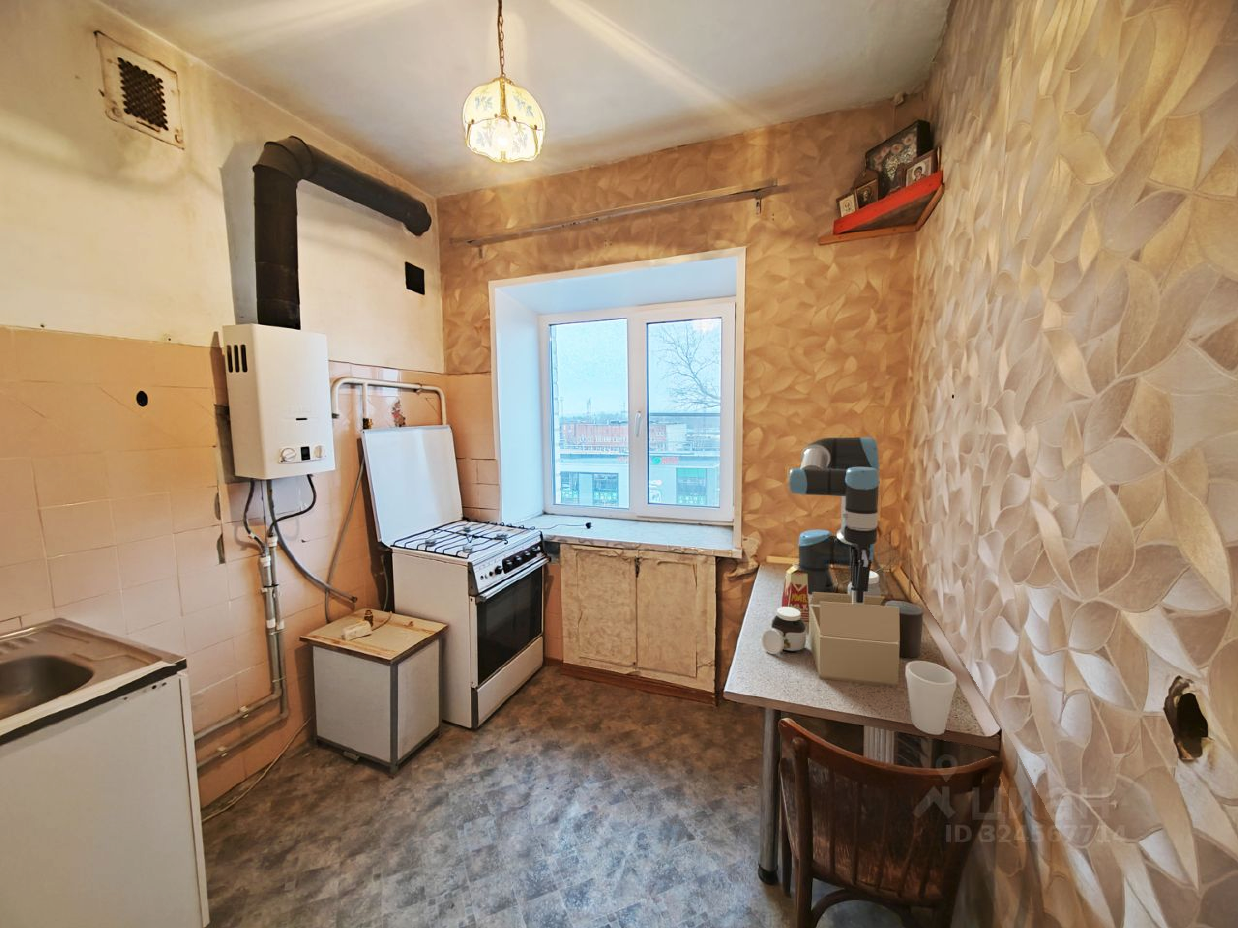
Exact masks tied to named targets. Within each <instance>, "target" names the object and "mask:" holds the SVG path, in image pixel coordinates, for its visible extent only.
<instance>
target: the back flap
mask: <svg viewBox="0 0 1238 928" xmlns="http://www.w3.org/2000/svg"><path fill="white" fill-rule="evenodd" d="M884 599H885V596H884V595H883V596H882V595H881V596H869V595H865V602H864V605H876V606H881V605H880V604H882V603H883V601H884ZM820 601H821V602H835V603H849V604H852V594H848V593H835V592H831V593H824V592H813V593H811V597H810V599H809V605H812V606H820Z"/></svg>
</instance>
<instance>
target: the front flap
mask: <svg viewBox="0 0 1238 928" xmlns="http://www.w3.org/2000/svg"><path fill="white" fill-rule="evenodd" d="M819 606H820V635H825V636H836V637H847V638H858V639H869V640H880V641H891V642H900V624H899V607H890V606H885V605H880V606H876V605H858V604H849V603H835V602H821V601H820V605H819Z"/></svg>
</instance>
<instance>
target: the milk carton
mask: <svg viewBox="0 0 1238 928" xmlns="http://www.w3.org/2000/svg"><path fill="white" fill-rule="evenodd" d="M798 568H799V565H796V564H794V562H793V563H792V566H791V567H790V568H789V569H788V570H786V572H785V578H784V582H783V588H782V596H781V605H780V607H792V608H795V609H797V610H799V611H800V612H801V619H802V620H803V621H804V623H805V625H806V626H809V605H810V599H809V598H810V596H809V593H808V578H807V573H805V572H803V571H801V570H799V569H798Z"/></svg>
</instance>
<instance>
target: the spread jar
mask: <svg viewBox="0 0 1238 928" xmlns="http://www.w3.org/2000/svg"><path fill="white" fill-rule="evenodd" d="M761 642H762V643H761V644H762V647H763V648H764V650H765V652H767V653H769V654H771V655H778V654H780V653H781V652H784V653H787V654H796V653H798V652H801V651H803V649H804V648H805V647H806V643H807V625H805V623H804V621H803V620H802V619H801V612H800V611H799V610H797V609H795V608H792V607H781V606H780V607H778V608H777V609H776V615H775V616H774V617H773V618H772V621H771V628H770V629H768V630H766V631H765V632H764V633H763V634H762V638H761Z"/></svg>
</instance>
